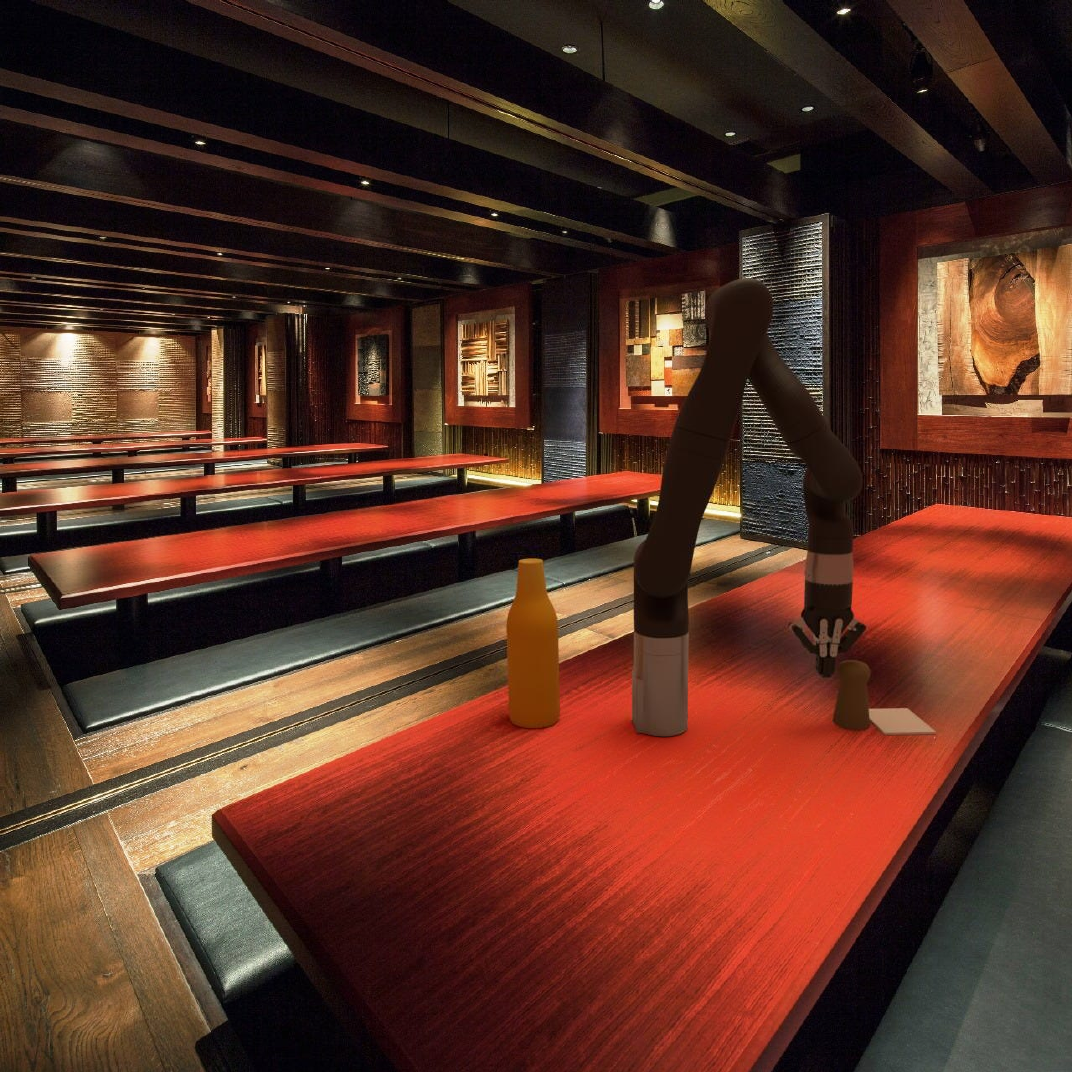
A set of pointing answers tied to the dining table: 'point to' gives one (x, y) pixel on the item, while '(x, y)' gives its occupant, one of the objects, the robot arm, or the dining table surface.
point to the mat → (898, 722)
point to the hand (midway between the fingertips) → (824, 675)
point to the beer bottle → (532, 651)
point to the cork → (852, 696)
